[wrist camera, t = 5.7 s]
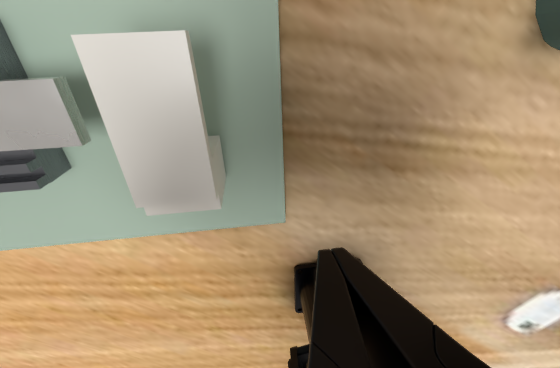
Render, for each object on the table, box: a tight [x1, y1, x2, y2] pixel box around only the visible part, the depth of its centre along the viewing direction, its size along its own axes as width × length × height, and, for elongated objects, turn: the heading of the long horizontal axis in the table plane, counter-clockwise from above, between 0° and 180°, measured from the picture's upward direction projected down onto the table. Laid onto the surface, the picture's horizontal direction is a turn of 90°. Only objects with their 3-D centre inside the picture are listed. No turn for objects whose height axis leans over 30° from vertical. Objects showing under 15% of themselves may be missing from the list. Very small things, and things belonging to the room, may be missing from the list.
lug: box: [71, 30, 226, 216], centre depth 13 cm, size 8×4×4 cm, turn 2°
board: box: [0, 0, 286, 251], centre depth 15 cm, size 20×25×1 cm
